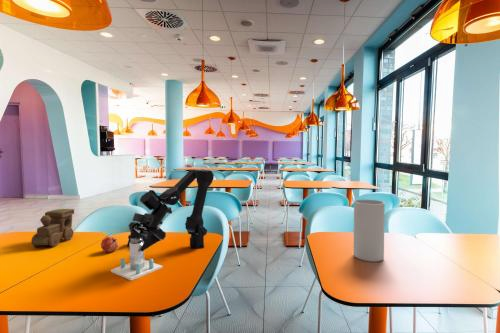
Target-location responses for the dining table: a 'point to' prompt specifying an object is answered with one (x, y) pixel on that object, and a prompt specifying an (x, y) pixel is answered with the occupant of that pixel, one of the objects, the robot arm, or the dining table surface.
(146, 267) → the tray
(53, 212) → the wooden toy train
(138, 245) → the shaker
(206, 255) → the dining table surface
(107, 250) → the pomegranate
